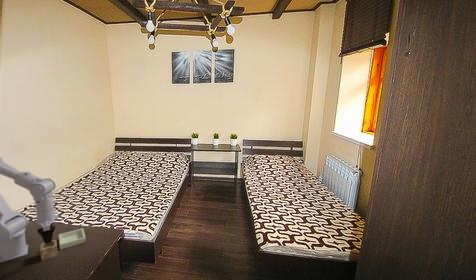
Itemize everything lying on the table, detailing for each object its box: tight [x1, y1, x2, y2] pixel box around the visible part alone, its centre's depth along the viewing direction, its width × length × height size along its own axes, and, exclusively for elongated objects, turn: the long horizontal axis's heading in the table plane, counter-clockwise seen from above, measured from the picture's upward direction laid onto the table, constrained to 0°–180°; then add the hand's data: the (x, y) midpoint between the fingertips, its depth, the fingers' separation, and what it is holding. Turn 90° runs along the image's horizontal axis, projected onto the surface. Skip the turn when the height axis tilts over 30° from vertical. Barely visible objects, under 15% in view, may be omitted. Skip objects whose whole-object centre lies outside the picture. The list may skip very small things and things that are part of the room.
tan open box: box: [35, 239, 59, 262], centre depth 99 cm, size 7×5×5 cm
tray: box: [58, 227, 87, 251], centre depth 110 cm, size 10×10×2 cm
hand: (48, 238), depth 99 cm, fingers open, 7 cm apart
